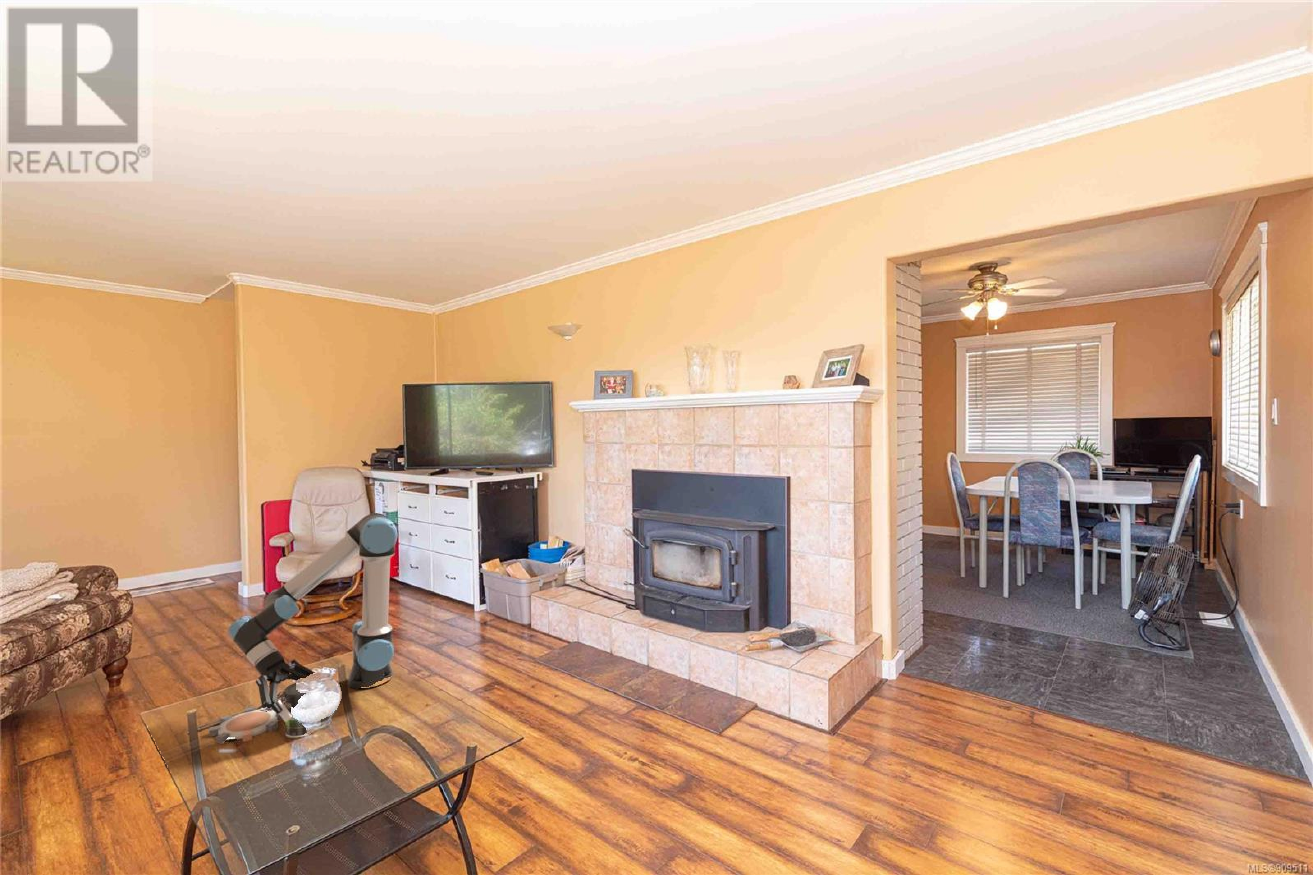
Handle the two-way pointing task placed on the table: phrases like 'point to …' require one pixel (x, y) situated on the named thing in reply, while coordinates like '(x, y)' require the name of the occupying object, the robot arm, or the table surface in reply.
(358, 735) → the table surface
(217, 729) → the sprocket plate
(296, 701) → the coffee can
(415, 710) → the table surface
